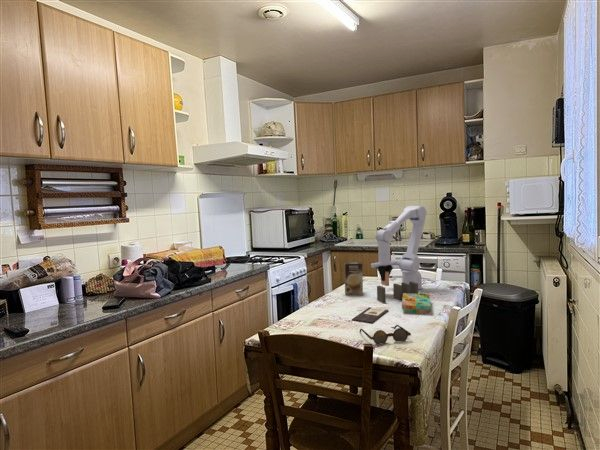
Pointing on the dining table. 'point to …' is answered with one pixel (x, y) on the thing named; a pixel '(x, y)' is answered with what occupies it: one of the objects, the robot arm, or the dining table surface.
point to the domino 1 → (386, 279)
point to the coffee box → (353, 278)
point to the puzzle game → (416, 303)
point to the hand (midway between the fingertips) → (384, 280)
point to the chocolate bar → (370, 315)
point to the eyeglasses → (382, 337)
